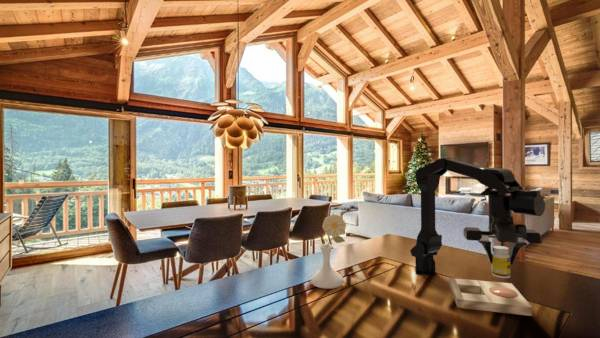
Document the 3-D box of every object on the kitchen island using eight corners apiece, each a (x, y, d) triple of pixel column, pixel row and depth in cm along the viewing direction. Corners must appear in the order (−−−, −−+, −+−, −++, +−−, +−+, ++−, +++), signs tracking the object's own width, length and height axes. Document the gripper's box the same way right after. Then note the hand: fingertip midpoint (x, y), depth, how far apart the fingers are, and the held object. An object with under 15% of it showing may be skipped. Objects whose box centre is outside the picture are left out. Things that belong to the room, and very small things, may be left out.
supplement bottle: (511, 279, 86) (510, 250, 86) (491, 276, 89) (491, 248, 89) (510, 274, 90) (509, 246, 90) (491, 271, 93) (491, 244, 93)
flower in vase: (306, 289, 102) (304, 216, 101) (316, 277, 112) (314, 210, 112) (344, 294, 97) (342, 217, 97) (351, 281, 108) (349, 211, 107)
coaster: (492, 296, 88) (492, 295, 88) (486, 286, 94) (486, 285, 94) (521, 298, 85) (521, 297, 85) (512, 288, 92) (512, 287, 92)
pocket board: (457, 307, 87) (457, 298, 87) (449, 285, 102) (449, 277, 102) (532, 316, 81) (532, 306, 81) (511, 291, 96) (511, 283, 96)
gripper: (469, 215, 85) (470, 270, 85) (550, 217, 79) (551, 276, 79) (462, 209, 95) (463, 258, 96) (533, 210, 89) (534, 262, 89)
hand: (500, 263), depth 90 cm, fingers closed on supplement bottle, 5 cm apart
